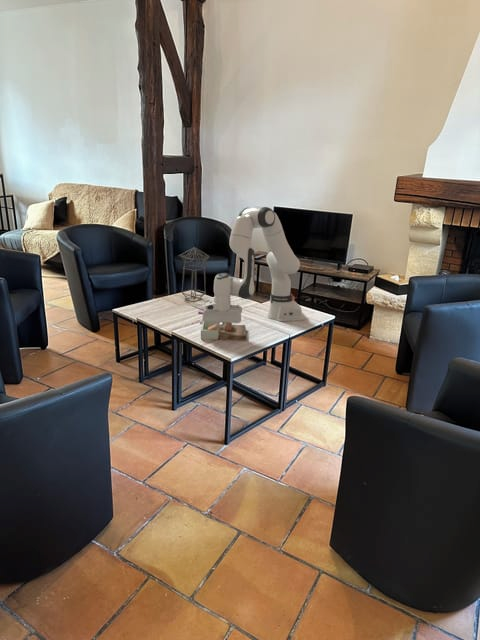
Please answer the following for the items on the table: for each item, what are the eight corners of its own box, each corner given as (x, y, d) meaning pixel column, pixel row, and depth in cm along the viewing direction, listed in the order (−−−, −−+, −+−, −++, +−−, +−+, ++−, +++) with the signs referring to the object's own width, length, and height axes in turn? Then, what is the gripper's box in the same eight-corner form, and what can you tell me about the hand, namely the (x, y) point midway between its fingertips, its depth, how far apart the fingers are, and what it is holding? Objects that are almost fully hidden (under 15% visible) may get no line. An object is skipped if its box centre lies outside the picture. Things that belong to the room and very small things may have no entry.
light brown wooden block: (231, 326, 241) (231, 319, 240) (231, 329, 236) (231, 322, 235) (222, 326, 241) (222, 319, 239) (222, 329, 236) (222, 322, 235)
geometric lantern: (193, 294, 304) (194, 244, 292) (210, 300, 295) (211, 248, 283) (176, 299, 293) (176, 247, 281) (193, 305, 283) (194, 251, 271)
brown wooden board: (245, 329, 244) (245, 325, 243) (245, 340, 229) (245, 335, 228) (220, 328, 244) (220, 324, 243) (218, 339, 229) (218, 335, 228)
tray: (219, 328, 244) (219, 320, 242) (218, 339, 229) (218, 330, 227) (203, 328, 244) (203, 319, 242) (200, 339, 229) (200, 330, 227)
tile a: (219, 330, 235) (216, 323, 233) (219, 333, 230) (216, 327, 229) (211, 333, 235) (208, 327, 234) (210, 337, 231) (207, 330, 229)
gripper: (242, 303, 231) (241, 328, 235) (203, 302, 230) (203, 327, 235) (242, 307, 225) (241, 332, 229) (202, 306, 225) (202, 331, 229)
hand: (221, 329), depth 232 cm, fingers closed
